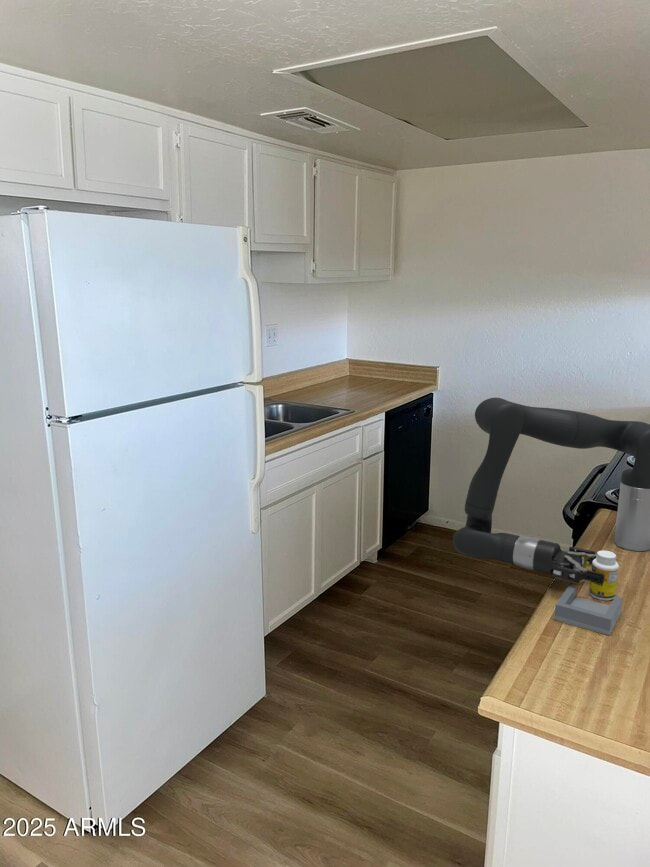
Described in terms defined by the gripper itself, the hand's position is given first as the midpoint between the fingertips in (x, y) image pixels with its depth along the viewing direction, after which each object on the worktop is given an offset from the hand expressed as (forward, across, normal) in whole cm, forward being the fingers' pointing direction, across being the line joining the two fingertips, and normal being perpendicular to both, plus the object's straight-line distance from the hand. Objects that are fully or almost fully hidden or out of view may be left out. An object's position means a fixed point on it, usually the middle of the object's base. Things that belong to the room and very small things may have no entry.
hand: (608, 572), depth 148 cm
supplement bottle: (-1, 0, +6) cm, 6 cm away
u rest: (-1, -12, +6) cm, 13 cm away
